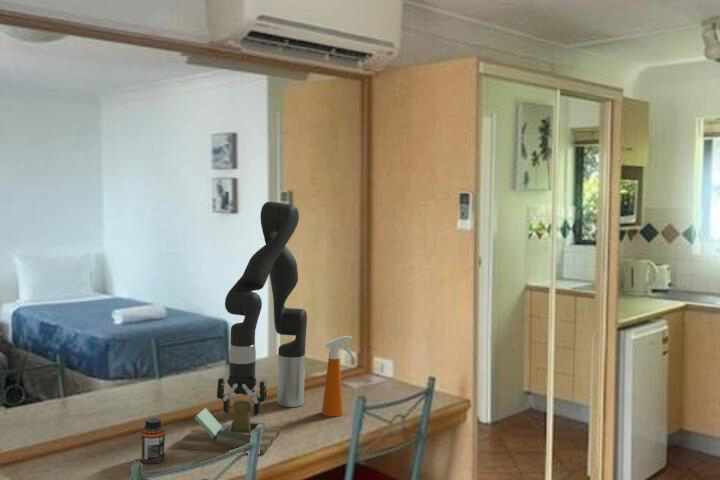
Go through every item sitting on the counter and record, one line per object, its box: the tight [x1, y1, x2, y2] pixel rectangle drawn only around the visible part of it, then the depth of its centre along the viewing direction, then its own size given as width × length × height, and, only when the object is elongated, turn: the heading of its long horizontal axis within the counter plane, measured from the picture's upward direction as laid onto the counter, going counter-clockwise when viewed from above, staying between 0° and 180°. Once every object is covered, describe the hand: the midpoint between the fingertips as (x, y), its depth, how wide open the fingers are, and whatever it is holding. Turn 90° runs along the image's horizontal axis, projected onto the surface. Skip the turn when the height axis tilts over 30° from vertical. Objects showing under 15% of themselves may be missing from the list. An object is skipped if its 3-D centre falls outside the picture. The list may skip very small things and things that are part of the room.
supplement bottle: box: [141, 416, 166, 464], centre depth 191 cm, size 6×6×11 cm
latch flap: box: [193, 407, 222, 439], centre depth 207 cm, size 7×8×1 cm
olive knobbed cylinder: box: [232, 399, 252, 433], centre depth 206 cm, size 6×6×11 cm
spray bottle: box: [321, 335, 357, 418], centre depth 235 cm, size 7×11×26 cm, turn 94°
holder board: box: [177, 419, 281, 456], centre depth 208 cm, size 18×25×4 cm
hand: (241, 413), depth 206 cm, fingers open, 8 cm apart
